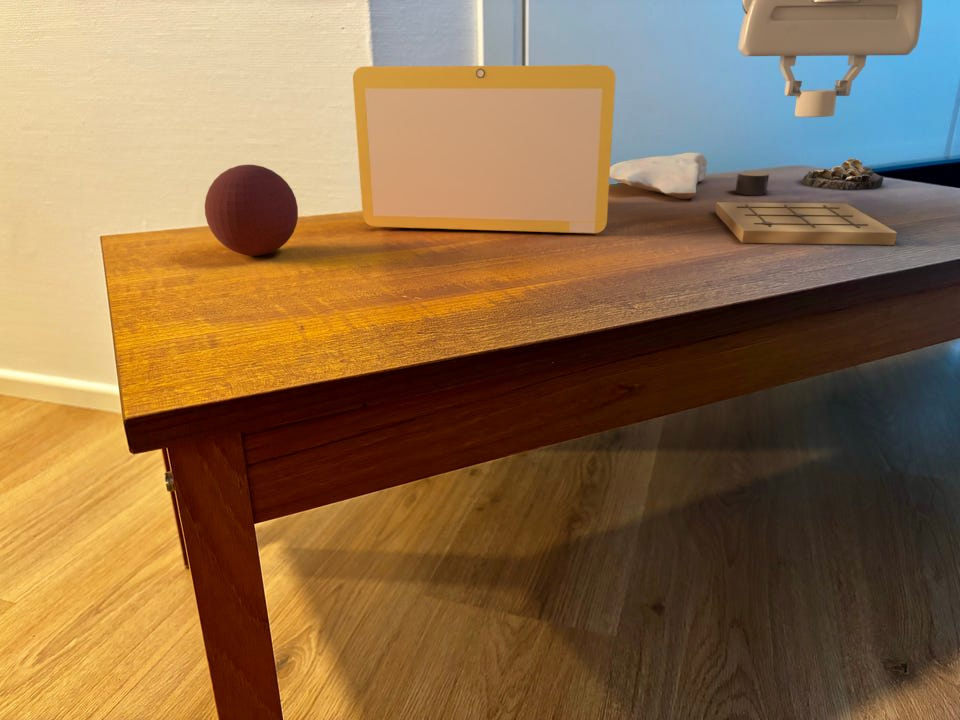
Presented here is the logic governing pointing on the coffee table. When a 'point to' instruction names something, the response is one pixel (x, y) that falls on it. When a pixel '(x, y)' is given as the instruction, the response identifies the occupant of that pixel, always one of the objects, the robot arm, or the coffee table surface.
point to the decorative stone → (663, 173)
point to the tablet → (485, 146)
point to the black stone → (752, 183)
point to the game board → (803, 224)
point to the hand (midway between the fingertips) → (816, 95)
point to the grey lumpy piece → (844, 177)
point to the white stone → (816, 103)
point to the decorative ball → (251, 210)
